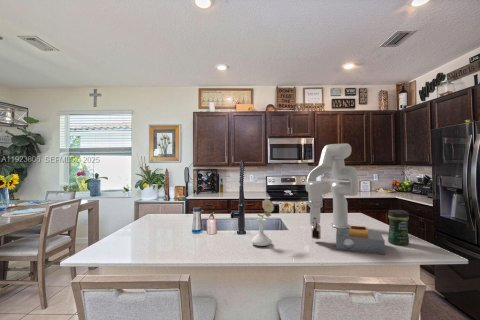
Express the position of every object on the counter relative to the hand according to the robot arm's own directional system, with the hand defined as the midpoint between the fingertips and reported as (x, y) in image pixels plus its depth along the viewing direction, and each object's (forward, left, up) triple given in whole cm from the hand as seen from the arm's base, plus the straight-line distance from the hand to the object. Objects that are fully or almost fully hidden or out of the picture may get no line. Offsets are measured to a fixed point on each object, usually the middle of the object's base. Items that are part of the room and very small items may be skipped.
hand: (316, 235), depth 144 cm
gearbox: (+1, +22, -4) cm, 22 cm away
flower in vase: (+15, -27, -4) cm, 31 cm away
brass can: (0, 0, -1) cm, 1 cm away
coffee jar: (-13, +43, -4) cm, 45 cm away
